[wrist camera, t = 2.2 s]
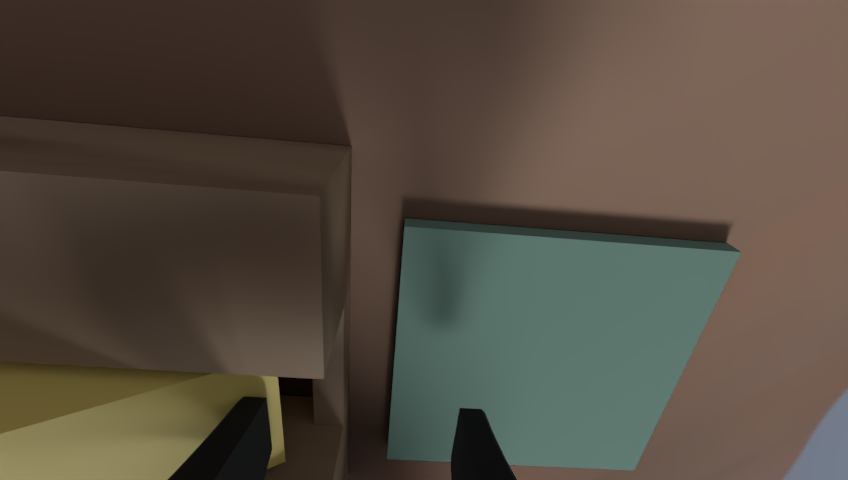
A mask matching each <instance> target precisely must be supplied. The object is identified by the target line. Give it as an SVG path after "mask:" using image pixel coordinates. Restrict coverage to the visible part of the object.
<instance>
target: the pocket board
mask: <svg viewBox="0 0 848 480" xmlns="http://www.w3.org/2000/svg"><path fill="white" fill-rule="evenodd" d="M350 231H351V146H343V145H331V144H320V143H308V142H296V141H285V140H273V139H262V138H250V137H238V136H227V135H215V134H204V133H192V132H180V131H169V130H157V129H146V128H134V127H122V126H111V125H99V124H88V123H76V122H64V121H53V120H41V119H30V118H18V117H7V116H0V362H19V363H37V364H55V365H73V366H91V367H110V368H128V369H146V370H164V371H182V372H201V373H219V374H237V375H255V376H273V377H292V378H310V379H312V381H313V397H307V396H288V395H280V405H281V416H282V427H283V438H284V449H285V460H286V462H283V463H281V464H278V465H276V466H274V467H271V468H269V469H267V470H266V474H265V477H264V480H347V476H348V402H349V316H350Z"/></svg>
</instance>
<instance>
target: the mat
mask: <svg viewBox="0 0 848 480" xmlns="http://www.w3.org/2000/svg"><path fill="white" fill-rule="evenodd" d="M740 254H741V252H740V251H739V250H737V249H736V248H734V247H733V246H731V245H729V244H728V243H719V242H706V241H693V240H680V239H667V238H655V237H642V236H629V235H616V234H603V233H590V232H577V231H564V230H551V229H538V228H525V227H512V226H499V225H486V224H473V223H460V222H447V221H434V220H421V219H408V218H405V225H404V238H403V251H402V264H401V278H400V291H399V304H398V317H397V330H396V344H395V357H394V370H393V383H392V396H391V410H390V423H389V436H388V449H387V459H392V460H414V461H437V462H451V454H452V448H453V442H454V437H455V431H456V426H457V420H458V415H459V409H460V408H470V409H482V410H483V411H484V412H485V414H486V417H487V419H488V422H489V424H490V426H491V429H492V431H493V433H494V435H495V438H496V440H497V442H498V444H499V446H500V448H501V450H502V452H503V454H504V456H505V458H506V460H507V462H508V464H509V465H526V466H548V467H571V468H593V469H615V470H635V468H636V466H637V464H638V461H639V459H640V457H641V455H642V453H643V451H644V449H645V447H646V445H647V443H648V441H649V439H650V437H651V435H652V433H653V431H654V429H655V427H656V425H657V423H658V421H659V419H660V417H661V415H662V413H663V411H664V409H665V407H666V404H667V402H668V400H669V398H670V396H671V394H672V392H673V390H674V388H675V386H676V384H677V382H678V380H679V378H680V376H681V374H682V372H683V370H684V368H685V366H686V364H687V362H688V360H689V358H690V356H691V354H692V352H693V350H694V347H695V345H696V343H697V341H698V339H699V337H700V335H701V333H702V331H703V329H704V327H705V325H706V323H707V321H708V319H709V317H710V315H711V313H712V311H713V309H714V307H715V305H716V303H717V301H718V299H719V297H720V295H721V293H722V291H723V288H724V286H725V284H726V282H727V280H728V278H729V276H730V274H731V272H732V270H733V268H734V266H735V264H736V262H737V260H738V258H739V256H740Z"/></svg>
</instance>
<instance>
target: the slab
mask: <svg viewBox="0 0 848 480" xmlns="http://www.w3.org/2000/svg"><path fill="white" fill-rule="evenodd" d="M245 396H246V397H264V398H267V405H268V414H269V423H270V432H271V441H272V452H271V456H270V459H269V463H268V467H267V469H269V468H271V467H274V466H276V465H278V464H281V463H283V462H286V460H285V449H284V438H283V427H282V416H281V405H280V394H279V383H278V377H273V376H255V375H237V374H219V373H201V372H182V371H164V370H146V369H128V368H110V367H91V366H73V365H55V364H37V363H19V362H0V480H168V479H169V478H170V477H171V475H172V474H173V473H174V472H175V471H176V470H177V469H178V468H179V467H180V466H181V465H182V464H183V463H184V462H185V461H186V460H187V459H188V457H189V456H190V455H191V454H192V453H193V452H194V451H195V450H196V449H197V448H198V447H199V446H200V445H201V443H202V442H203V441H204V440H205V439H206V438H207V437H208V436H209V434H210V433H211V432H212V431H213V430H214V429H215V428H216V427H217V425H218V424H219V423H220V422H221V421H222V420H223V418H224V417H225V416H226V415H227V414H228V413H229V411H230V410H231V409H232V408H233V407H234V406H235V404H236V403H237V402H238V401H239V400H240V399H241V398H243V397H245Z"/></svg>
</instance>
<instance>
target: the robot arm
mask: <svg viewBox="0 0 848 480" xmlns="http://www.w3.org/2000/svg"><path fill="white" fill-rule="evenodd" d="M271 452H272V441H271V432H270V423H269V414H268V405H267V398H264V397H246V396H245V397H243V398H241V399H240V400H239V401H238V402H237V403H236V404H235V406H234V407H233V408H232V409H231V410H230V411H229V413H228V414H227V415H226V416H225V417H224V418H223V420H222V421H221V422H220V423H219V424H218V425H217V427H216V428H215V429H214V430H213V431H212V432H211V433H210V434H209V436H208V437H207V438H206V439H205V440H204V441H203V442H202V443H201V445H200V446H199V447H198V448H197V449H196V450H195V451H194V452H193V453H192V454H191V455H190V456H189V457H188V459H187V460H186V461H185V462H184V463H183V464H182V465H181V466H180V467H179V468H178V469H177V470H176V471H175V472H174V473H173V474H172V475H171V477H170V478H169V479H168V480H264V477H265V474H266V470H267V467H268V463H269V459H270V456H271ZM451 477H452V480H517V479H516V478H515V476H514V474H513V472H512V470H511V468H510V466H509V464H508V462H507V460H506V458H505V456H504V454H503V452H502V450H501V448H500V446H499V444H498V442H497V440H496V438H495V435H494V433H493V431H492V429H491V426H490V424H489V422H488V419H487V417H486V414H485V412H484V411H483V410H482V409H470V408H460V409H459V415H458V420H457V426H456V431H455V437H454V442H453V448H452V454H451Z"/></svg>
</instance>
